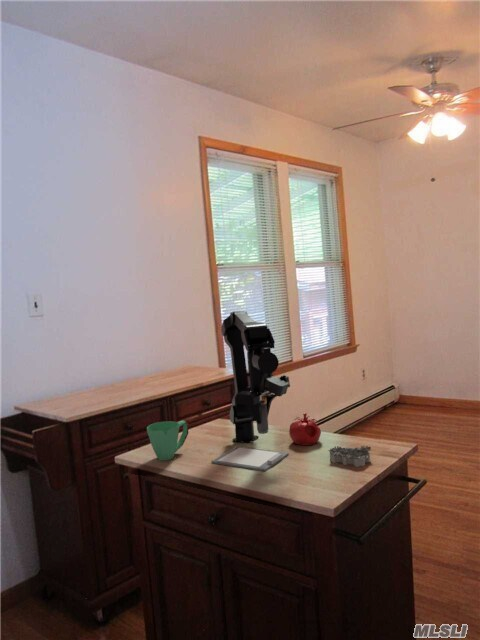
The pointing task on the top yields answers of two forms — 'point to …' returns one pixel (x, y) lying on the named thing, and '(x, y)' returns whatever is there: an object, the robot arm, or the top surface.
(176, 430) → the mug
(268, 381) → the robot arm
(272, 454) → the whiteboard
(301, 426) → the pomegranate
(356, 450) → the egg carton
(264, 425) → the marker
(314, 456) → the top surface
